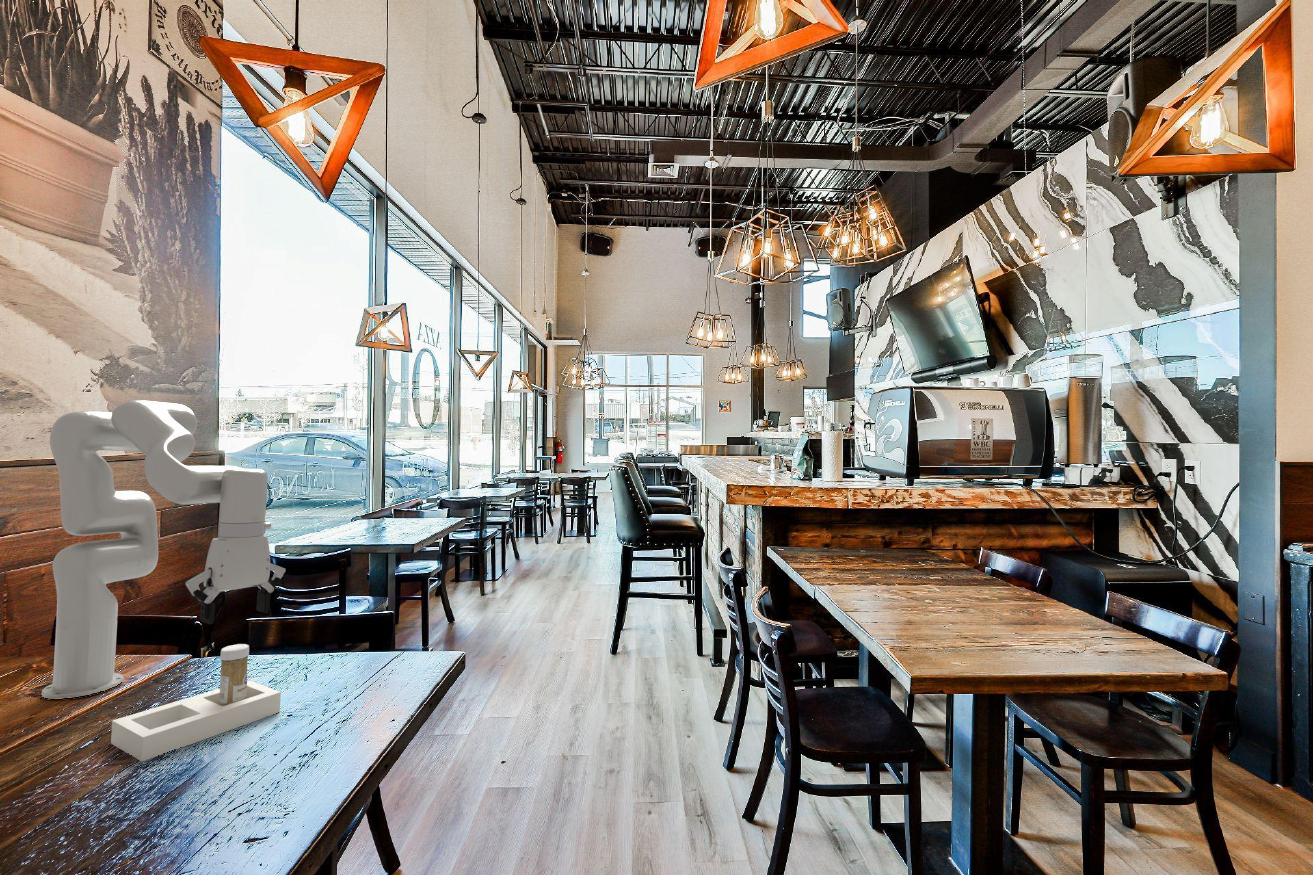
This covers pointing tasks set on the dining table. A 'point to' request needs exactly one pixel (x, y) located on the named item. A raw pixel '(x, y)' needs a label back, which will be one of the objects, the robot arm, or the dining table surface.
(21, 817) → the dining table surface
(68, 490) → the robot arm
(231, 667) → the sprinkles bottle
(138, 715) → the condiment rack
